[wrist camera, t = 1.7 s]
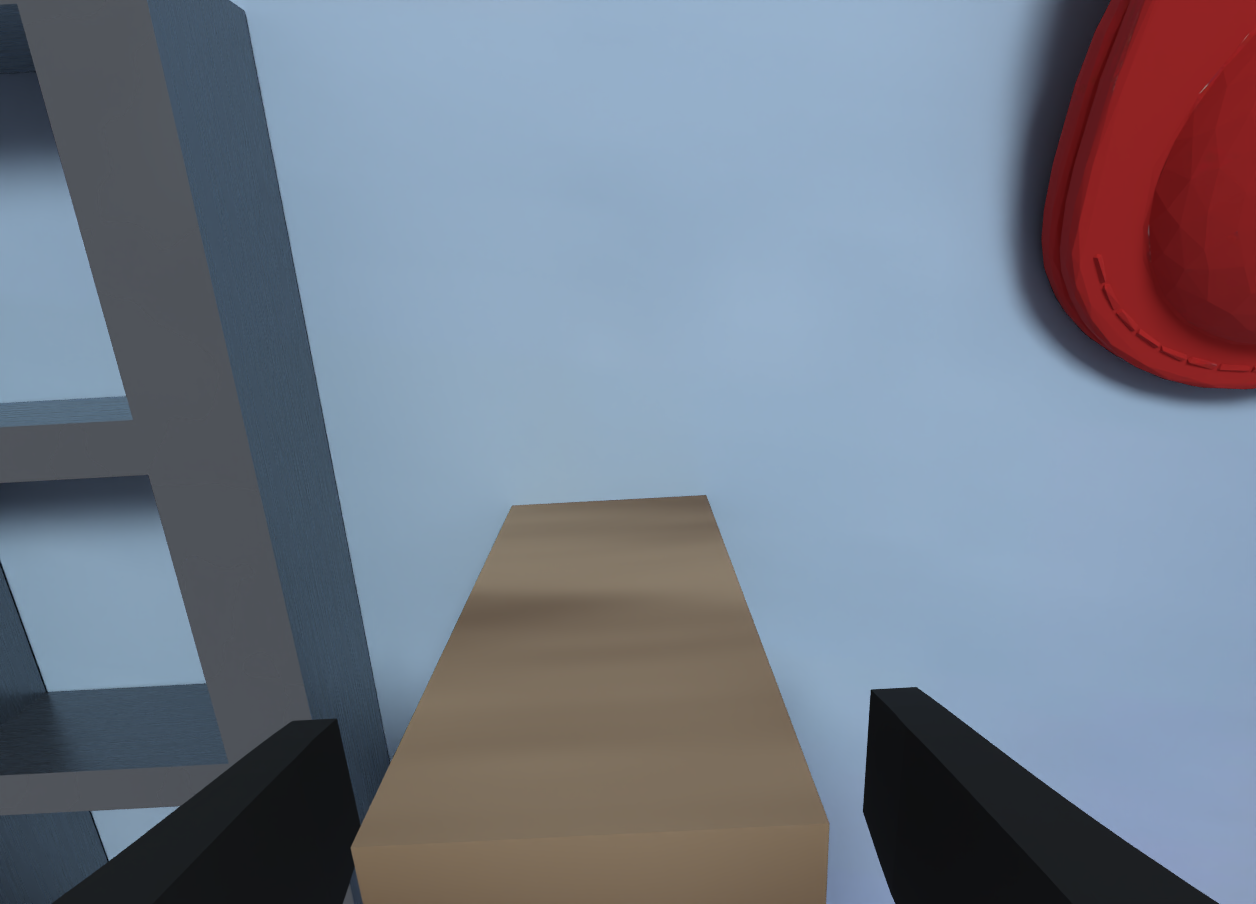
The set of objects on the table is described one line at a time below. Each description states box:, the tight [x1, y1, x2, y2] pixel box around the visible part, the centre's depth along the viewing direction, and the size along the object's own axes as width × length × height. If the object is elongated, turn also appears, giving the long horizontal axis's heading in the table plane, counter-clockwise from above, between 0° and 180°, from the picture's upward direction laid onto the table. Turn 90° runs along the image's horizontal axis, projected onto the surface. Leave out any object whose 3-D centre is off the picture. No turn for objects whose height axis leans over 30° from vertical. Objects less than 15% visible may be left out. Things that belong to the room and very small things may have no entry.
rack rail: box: [0, 0, 390, 904], centre depth 12 cm, size 20×9×2 cm, turn 3°
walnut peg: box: [351, 495, 829, 904], centre depth 10 cm, size 4×4×8 cm
